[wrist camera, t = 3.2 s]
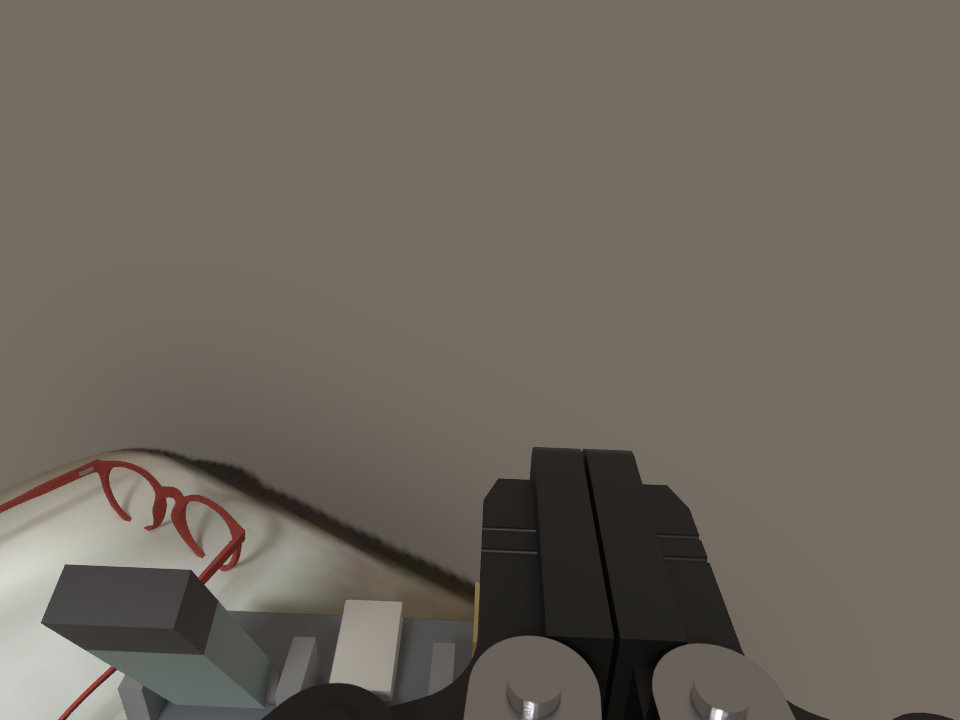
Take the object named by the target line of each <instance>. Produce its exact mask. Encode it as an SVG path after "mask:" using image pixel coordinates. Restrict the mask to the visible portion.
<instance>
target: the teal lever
mask: <svg viewBox="0 0 960 720" xmlns="http://www.w3.org/2000/svg"><path fill="white" fill-rule="evenodd" d="M41 624H43V625H45V626H46V627H48V628H50V629H51V630H53V631H55V632H56V633H58V634H60V635H61V636H63V637H65V638H66V639H68V640H69V641H71V642H73V643H74V644H76V645H78V646H79V647H81V648H83V649H84V650H86V651H88V652H89V653H91V654H93V655H94V656H96V657H98V658H99V659H101V660H102V661H104V662H106V663H107V664H109V665H111V666H112V667H114V668H116V669H117V670H119V671H121V672H122V673H124V674H126V675H127V676H129V677H130V678H132V679H134V680H135V681H137V682H139V683H140V684H142V685H144V686H145V687H147V688H149V689H150V690H152V691H154V692H155V693H157V694H158V695H160V696H162V697H163V698H165V699H167V700H168V701H170V702H172V703H173V704H175V705H194V706H216V707H239V708H261V709H266V705H267V704H276V700H275V693H276V690H277V687H278V684H279V681H280V678H281V675H282V672H283V670H275V669H274V666H275V665H274V664H273V663H272V661H271V660H270V659H269V658H268V657H267V656H266V655H265V653H264V652H263V651H262V650H261V649H260V648H259V647H258V646H257V644H256V643H255V642H254V641H253V640H252V639H251V638H250V636H249V635H248V634H247V633H246V632H245V631H244V630H243V628H242V627H241V626H240V625H239V624H238V623H237V622H236V620H235V619H234V618H233V617H232V616H231V615H230V614H229V612H228V611H227V610H226V609H225V608H224V607H223V606H222V605H221V603H220V602H219V601H218V600H217V599H216V598H215V597H214V595H213V594H212V593H211V592H210V591H209V590H208V589H207V587H206V586H205V585H204V584H203V583H202V582H201V581H200V579H199V578H198V577H197V576H196V575H195V574H194V573H193V572H192V570H180V569H157V568H134V567H111V566H88V565H65V566H64V569H63V571H62V573H61V576H60V578H59V581H58V583H57V585H56V588H55V590H54V593H53V595H52V597H51V600H50V602H49V604H48V607H47V609H46V612H45V614H44V616H43V619H42V621H41Z"/></svg>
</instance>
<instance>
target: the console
mask: <svg viewBox="0 0 960 720" xmlns="http://www.w3.org/2000/svg"><path fill="white" fill-rule="evenodd" d="M228 612H229V614H230V615H231V616H232V617H233V618H234V619H235V620H236V622H237V623H238V624H239V625H240V626H241V627H242V628H243V630H244V631H245V632H246V633H247V634H248V635H249V636H250V638H251V639H252V640H253V641H254V642H255V643H256V644H257V646H258V647H259V648H260V649H261V650H262V651H263V652H264V653H265V655H266V656H267V657H268V658H269V659H270V660H271V661H272V663H273V664H274V665H275V666H274V669H275V670H283V672H282V675H281V678H280V681H279V684H278V687H277V690H276V693H275V700H276V704H267V705H266V709H261V708H239V707H216V706H194V705H175V704H173V703H172V702H170V701H168V700H167V699H165V698H163V697H162V696H160V695H158V694H157V693H155V692H154V691H152V690H150V689H149V688H147V687H145V686H144V685H142V684H140V683H139V682H137V681H135V680H134V679H132V678H130V677H129V676H127V675H125V676H124V678H123V680H122V682H121V684H120V685H119V687H118V691H119V694H120V697H121V700H122V703H123V706H124V709H125V713H126V716H127V719H128V720H261V719H262V718H264V717H265V716H266V715H267V714H269V713H270V712H271V711H272V710H274V709H275V708H276V707H277V706H278V705H280V704H281V703H282V702H284V701H285V700H287V699H288V698H289V697H291V696H292V695H294V694H296V693H298V692H300V691H302V690H304V689H307V688H310V687H313V686H316V685H321V684H326V683H347V684H352V685H356V686H360V687H362V688H364V689H366V690H368V691H370V692H372V693H373V694H375V695H376V696H377V697H379V698H380V699H381V701H382V702H383V703H384V704H385V705H386V706H387V707H390V706H394V705H398V704H401V703H405V702H409V701H412V700H416V699H420V698H423V697H426V696H429V695H432V694H434V693H436V692H438V691H440V690H442V689H444V688H445V687H447V686H448V685H450V684H451V683H452V682H454V681H455V680H456V679H457V678H458V677H459V676H460V675H461V674H462V673H463V672H464V670H465V669H466V668H467V666H468V665H469V663H470V661H471V659H472V654H473V630H474V621H452V620H429V619H406V618H403V605H402V602H393V601H370V600H347V599H346V602H345V607H344V612H343V616H337V615H314V614H291V613H269V612H246V611H228Z"/></svg>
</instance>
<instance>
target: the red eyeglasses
mask: <svg viewBox="0 0 960 720" xmlns="http://www.w3.org/2000/svg"><path fill="white" fill-rule="evenodd" d="M113 467H125V468H128V469H131V470H133V471H135V472H137V473H139V474H141V475H142V476H143V477H145V478H146V479H147V480H148V481H149V483H150V484H151V485H152V487H153V489H154V491H155V494H156V496H155V502H154V506H153V510H152V512H153V518H154V523H153V525H151V526H146V527H144V528H145V529H147V530H151V529H153V528H156V527H158V526H159V525H160V524H161V523H162V521H163V519H164V517H165V513H166V508H167V502H166V498H167V497H171V498H174V499H175V501H176V504H175V506H174V508H173V510H172V513H171V519H172V522H173V524H174V526H175V528H176V529H177V531H178V532H179V534H180V535H181V537H182V538H183V540H184V541H185V542H186V543H187V545H188V546H189V547H190V548H191V549H192V551H193V552H194V553H195V554H196V555H197V556H199V557H201V558H203V557H204V556H205V554H204V553H203V552H202V551H201V549H200V548H199V547H198V546H197V544H196V543H195V541H194V539H193V537H192V536H191V533H190V531H189V529H188V526H187V522H186V514H185V511H186V506H187V504H188V503H189V502H190V501H198V502H201V503H204V504H206V505H207V506H209V507H211V508H212V509H214V510H215V511H216V512H217V513H218V514H219V515H220V516H221V517H222V518H223V519H224V520H225V522H226V523H227V525H228V527H229V529H230V532H231V535H232V538H233V539H232V540H231V541H229V543H228V545H227V546H226V547H225V548H224V549H223V550H222V551H221V552H220V554H219V555H218V556H217V557H216V558H215V559H214V560H213V561H212V563H211V564H210V565H209V566H208V567H207V568H206V569H205V570H204V571H203V573H202V574H201V575H200V576H199V577H198V578H199V579H200V581H201V582H202V583H203V584H205V583H206V582H207V581H208V580H209V579H210V578H211V577H212V576H213V575H214V574H215V573H216V571H217V570H218V569H220V570H222V571H225V570H228V569H230V568H232V567H234V566H235V565H236V564H237V562H238V560H239V557H240V553H241V546H242V543H243V542H244V540H245V530H244V529H243V528H242V527H241V526H240V525H239V524H238V523H237V522H236V521H235V520H234V519H233V518H232V516H231V515H230V514H229V513H228V512H226V511H225V510H224V509H223V508H222V507H220V506H219V505H218V504H216V503H215V502H213V501H211V500H210V499H207V498H205V497H203V496H199V495H189V496H185V497H184V496H183V495H182V493H181V492H180V491H179V490H178V489H176V488H174V487H162V486H161V485H160V484H159V482H158V481H157V480H156V479H155V478H154V477H153V476H152V475H151V474H150V473H149V472H147V471H146V470H144V469H143V468H141V467H139V466H136V465H134V464H131V463H127V462H122V461H100V460H95V461H93V462H90V463H88V464H86V465H83V466H81V467H79V468H77V469H75V470H72V471H70V472H68V473H66V474H64V475H61V476H59V477H57V478H55V479H52V480H50V481H48V482H46V483H44V484H42V485H40V486H37V487H35V488H34V489H32V490H30V491H28V492H26V493H24V494H22V495H20V496H18V497H17V498H15V499H13V500H11V501H8V502H6V503H4V504H2V505H0V513H1V512H3V511H5V510H8V509H10V508H12V507H14V506H16V505H18V504H21V503H23V502H25V501H28V500H30V499H33V498H35V497H38V496H40V495H43V494H45V493H47V492H49V491H52V490H54V489H56V488H58V487H61V486H63V485H65V484H67V483H70V482H72V481H74V480H76V479H79V478H81V477H83V476H86V475H88V474H91V473H94V472H98V473H99V475H100V479H101V482H102V486H103V489H104V492H105V494H106V497H107V499H108V501H109V503H110V504H111V506H112V507H113V508H114V510H115V511H116V512H117V513H118V515H119V516H120V517H121V518H122V519H124V520H126V521H129V522H130V521H131V519H132V518H130V517H129V516H128V515H127V514H126V513H125V512H124V511H123V510H122V509H121V507H120V506H119V505H118V503H117V501H116V500H115V498H114V496H113V493H112V491H111V488H110V484H109V474H110V471H111V469H112V468H113ZM232 554H233V556H232V559H231V561H230V563H229V564H228V565H223V564H224V563H225V561H226V560H227V559H228V558H229V557H230V556H231V555H232ZM116 670H117V669H116V668H114V667H112V666H111V667H110V668H109V669H108V670H107V671H106V672H105V673H104V674H103V675H102V676H100V677H99V678H98V679H97V680H96V681H95V682H94V683H93V684H92V685H91V686H90V687H89V688H88V689H87V690H86V691H85V692H84V693H83V694H82V695H81V696H80V697H79V698H78V699H77V700H76V701H75V702H74V703H73V704H72V705H71V706H70V707H69V708H68V709H67V710H66V711H65V713H64V714H63V715H62V716H61V717H60V718H59V719H58V720H66V719H67V718H68V716H69V715H70V714H71V713H72V712H73V711H74V710H75V709H76V708H77V707H78V706H79V705H80V704H81V703H82V702H83V701H84V700H85V699H86V698H87V697H88V696H89V695H90V694H91V693H92V692H93V691H94V690H95V689H96V688H97V687H98V686H99V685H100V684H102V683H103V682H104V681H105V680H106V679H107V678H108V677H109V676H111V675H112V674H113V673H114V672H115V671H116Z"/></svg>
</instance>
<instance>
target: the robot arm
mask: <svg viewBox="0 0 960 720" xmlns="http://www.w3.org/2000/svg"><path fill="white" fill-rule="evenodd" d="M261 720H829V719H826V718H823V717H820V716H817V715H815V714H812V713H809V712H807V711H805V710H803V709H801V708H799V707H797V706H795V705H793V704H792V703H790V702H789V701H787V700H786V699H785V697H784V695H783V694H782V692H781V690H780V689H779V687H778V686H777V684H776V683H775V682H774V680H773V679H772V678H771V677H770V676H769V675H768V674H767V673H766V672H765V671H764V670H763V669H762V668H760V667H759V666H758V665H757V664H756V663H754V662H753V661H751V660H750V659H748V658H746V657H745V656H744V653H743V652H742V649H741V647H740V644H739V641H738V639H737V636H736V633H735V630H734V628H733V625H732V622H731V619H730V617H729V614H728V612H727V609H726V606H725V603H724V601H723V598H722V595H721V593H720V590H719V587H718V585H717V582H716V579H715V577H714V574H713V571H712V568H711V566H710V563H707V555H706V552H705V550H704V547H703V544H702V542H701V540H699V534H698V531H697V528H696V526H695V523H694V520H693V518H692V515H691V512H690V510H689V508H688V507H687V506H686V505H685V504H684V503H683V502H682V501H681V500H680V499H679V498H678V497H677V496H676V494H675V493H674V492H673V491H672V490H671V489H670V488H669V487H668V486H667V485H643V484H642V481H641V478H640V475H639V471H638V468H637V464H636V461H635V457H634V455H633V453H632V451H623V450H597V449H583V451H582V452H581V450H580V449H567V448H544V447H533V450H532V459H531V471H530V480H519V479H498V480H497V481H496V483H495V484H494V486H493V488H492V489H491V490H490V492H489V493H488V494H487V496H486V497H485V499H484V504H483V526H482V548H481V570H480V592H479V615H478V637H477V645H476V649H475V652H474V655H473V658H472V659H471V661H470V663H469V665H468V666H467V668H466V669H465V670H464V672H463V673H462V674H461V675H460V676H459V677H458V678H457V679H456V680H455V681H454V682H452V683H451V684H450V685H448V686H447V687H445V688H444V689H442V690H440V691H438V692H436V693H434V694H432V695H429V696H426V697H423V698H420V699H416V700H412V701H409V702H405V703H401V704H398V705H394V706H390V707H387V706H386V705H385V704H384V703H383V702H382V701H381V699H380V698H379V697H377V696H376V695H375V694H373V693H372V692H370V691H368V690H366V689H364V688H362V687H360V686H356V685H352V684H347V683H326V684H321V685H316V686H313V687H310V688H307V689H304V690H302V691H300V692H298V693H296V694H294V695H292V696H291V697H289V698H288V699H287V700H285V701H284V702H282V703H281V704H280V705H278V706H277V707H276V708H275V709H274V710H272V711H271V712H270V713H269V714H267V715H266V716H265V717H264V718H262V719H261ZM893 720H953V719H951V718H947V717H944V716H940V715H935V714H929V713H910V714H904V715H901V716H899V717H897V718H894V719H893Z"/></svg>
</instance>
